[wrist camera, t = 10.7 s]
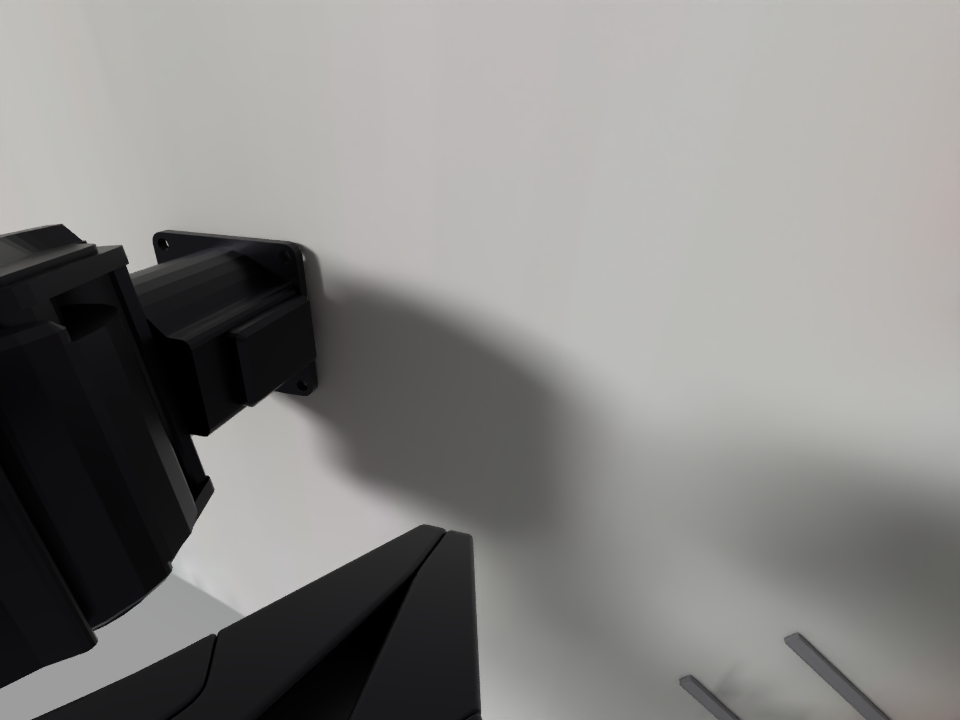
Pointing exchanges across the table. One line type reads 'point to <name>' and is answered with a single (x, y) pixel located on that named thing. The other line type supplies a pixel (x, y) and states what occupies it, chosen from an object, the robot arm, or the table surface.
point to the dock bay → (815, 662)
